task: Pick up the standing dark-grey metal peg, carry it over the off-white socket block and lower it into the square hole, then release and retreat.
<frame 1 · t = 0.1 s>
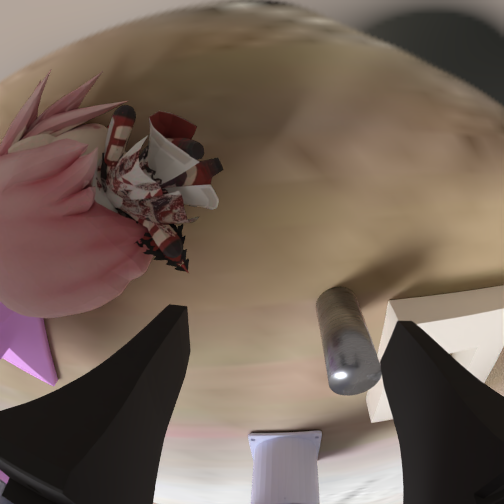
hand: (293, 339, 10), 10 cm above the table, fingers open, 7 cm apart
socket block: (436, 348, 23), on the table
toy: (113, 167, 18), on the table
peg: (336, 304, 21), on the table
vase: (4, 317, 25), on the table
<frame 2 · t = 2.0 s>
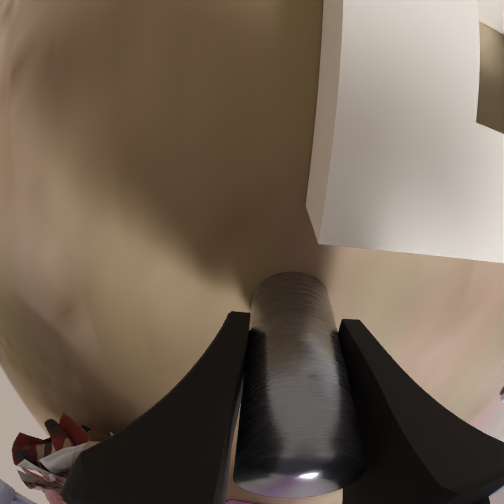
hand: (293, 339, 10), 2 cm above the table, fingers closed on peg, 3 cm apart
socket block: (479, 73, 7), on the table
toy: (112, 433, 18), on the table
peg: (290, 305, 12), on the table, touching gripper
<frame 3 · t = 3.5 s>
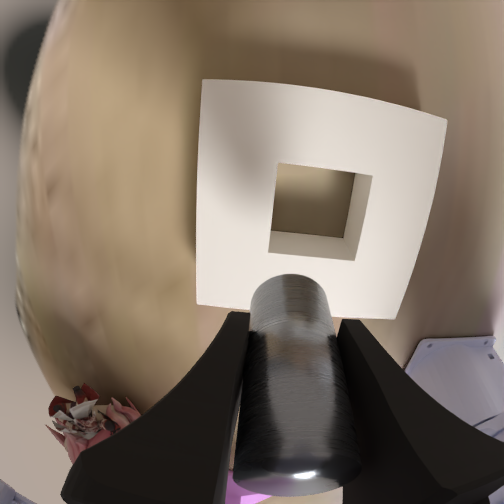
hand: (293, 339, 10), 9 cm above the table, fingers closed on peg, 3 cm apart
socket block: (312, 197, 17), on the table
toy: (112, 402, 29), on the table
peg: (289, 307, 12), point 7 cm above the table, touching gripper
vase: (225, 484, 37), on the table
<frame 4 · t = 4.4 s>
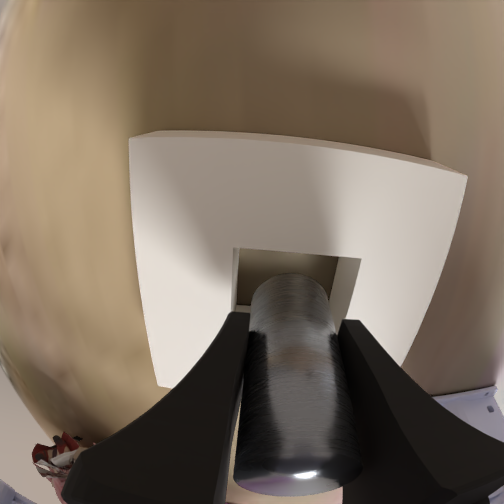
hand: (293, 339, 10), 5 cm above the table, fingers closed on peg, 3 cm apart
socket block: (287, 268, 14), on the table
toy: (97, 441, 26), on the table
peg: (289, 306, 12), point 3 cm above the table, touching gripper
when the fingers open (3 cm above the table, at t = 5.0 s): peg drops 1 cm, resting in socket block.
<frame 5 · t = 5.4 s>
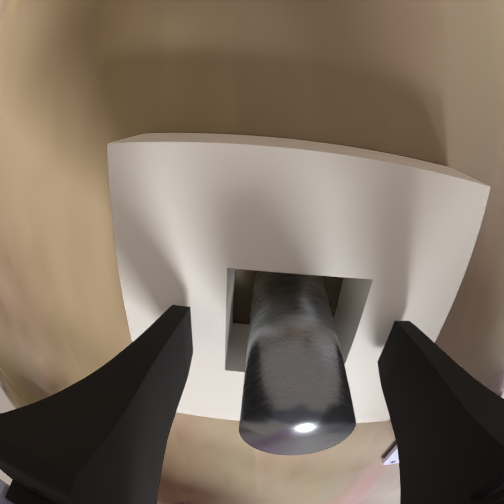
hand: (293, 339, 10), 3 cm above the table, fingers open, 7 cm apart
socket block: (288, 285, 13), on the table
peg: (288, 287, 13), resting in socket block
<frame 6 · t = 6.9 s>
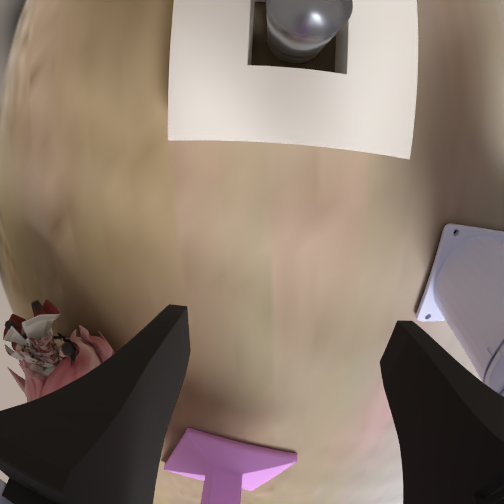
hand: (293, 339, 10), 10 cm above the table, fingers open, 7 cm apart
socket block: (294, 38, 14), on the table
toy: (85, 343, 25), on the table
peg: (294, 39, 14), resting in socket block
vase: (225, 460, 34), on the table
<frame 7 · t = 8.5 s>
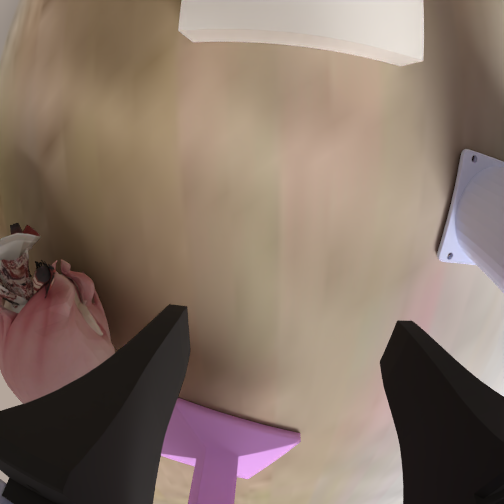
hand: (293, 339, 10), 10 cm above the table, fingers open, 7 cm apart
toy: (68, 290, 23), on the table
vase: (219, 441, 31), on the table
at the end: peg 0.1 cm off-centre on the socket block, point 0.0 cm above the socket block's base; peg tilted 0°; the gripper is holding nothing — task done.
